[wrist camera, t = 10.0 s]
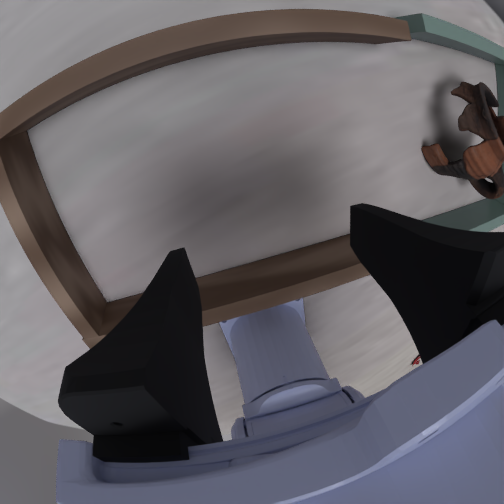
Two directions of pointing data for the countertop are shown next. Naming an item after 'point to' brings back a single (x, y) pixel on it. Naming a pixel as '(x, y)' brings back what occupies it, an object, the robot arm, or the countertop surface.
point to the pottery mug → (478, 156)
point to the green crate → (449, 35)
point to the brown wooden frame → (135, 63)
